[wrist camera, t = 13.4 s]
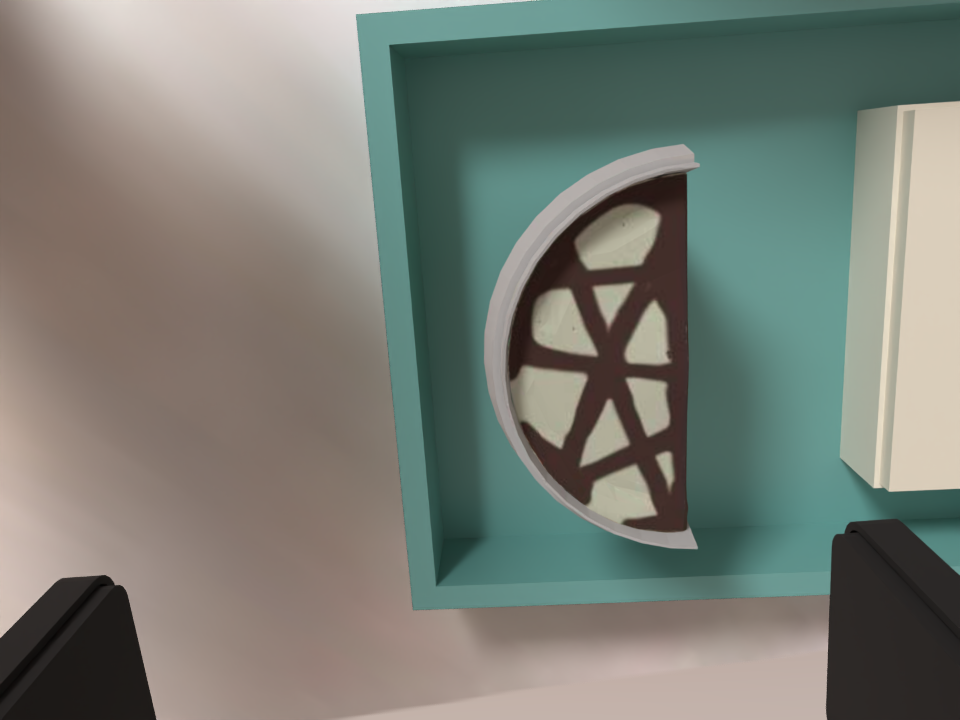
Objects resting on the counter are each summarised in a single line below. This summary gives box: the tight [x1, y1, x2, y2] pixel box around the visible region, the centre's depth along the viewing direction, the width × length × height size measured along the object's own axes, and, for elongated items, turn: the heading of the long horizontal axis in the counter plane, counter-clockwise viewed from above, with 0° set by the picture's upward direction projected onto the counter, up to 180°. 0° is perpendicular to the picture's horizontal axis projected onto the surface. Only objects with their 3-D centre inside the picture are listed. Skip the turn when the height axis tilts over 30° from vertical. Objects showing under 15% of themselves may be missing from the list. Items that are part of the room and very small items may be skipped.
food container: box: [484, 144, 700, 549], centre depth 27 cm, size 12×6×10 cm, turn 4°
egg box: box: [840, 101, 960, 492], centre depth 30 cm, size 14×6×4 cm, turn 4°
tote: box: [356, 0, 960, 610], centre depth 30 cm, size 22×26×5 cm
